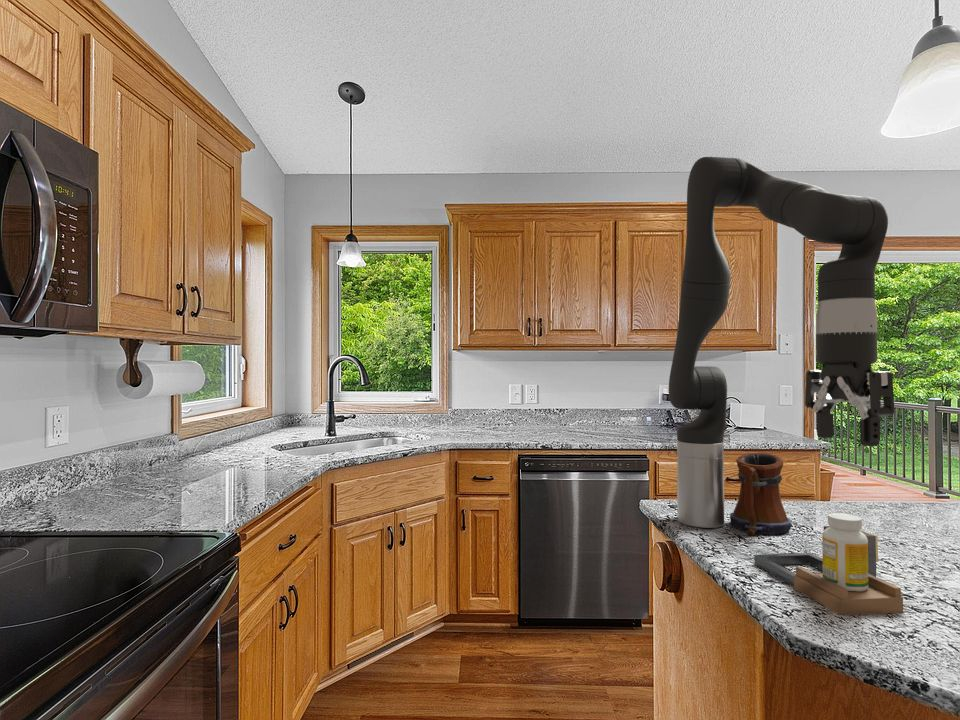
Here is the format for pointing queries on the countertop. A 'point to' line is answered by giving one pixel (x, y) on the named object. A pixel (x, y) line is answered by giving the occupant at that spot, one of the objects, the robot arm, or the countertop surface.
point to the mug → (760, 496)
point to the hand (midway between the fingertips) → (846, 441)
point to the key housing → (869, 552)
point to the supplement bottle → (845, 552)
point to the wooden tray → (850, 594)
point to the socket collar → (786, 563)
